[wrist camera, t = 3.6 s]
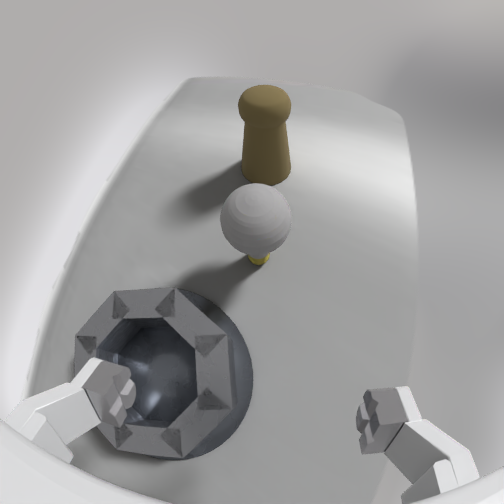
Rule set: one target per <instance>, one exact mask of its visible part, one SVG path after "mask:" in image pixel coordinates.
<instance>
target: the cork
mask: <svg viewBox="0 0 504 504" xmlns="http://www.w3.org/2000/svg"><path fill="white" fill-rule="evenodd" d="M238 108H239V114H240V116H241V118H242V119H243V120H244V122H245V126H244V139H243V152H242V165H241V168H242V173H243V175H244V176H245V178H246V179H247V180H249V181H250V182H252V183H259V184H265V185H268V186H269V185H275V184H278V183H280V182H282V181H283V180H285V179H286V178H287V177H288V175H289V174H290V170H291V163H290V155H289V146H288V138H287V130H286V122H285V121H286V120H287V119H288V117H289V115H290V111H291V102H290V99H289V96H288V95H287V93H286V92H285V91H284V90H282V89H281V88H278V87H276V86H271V85H258V86H254V87H251V88H249V89H247V90H245V91H244V92H243V93H242V95H241V97H240V99H239V102H238Z"/></svg>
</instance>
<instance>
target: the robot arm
mask: <svg viewBox="0 0 504 504" xmlns="http://www.w3.org/2000/svg"><path fill="white" fill-rule="evenodd" d="M131 375H132V374H131V372H130V369H129V368H128V367H125V366H121V365H118V364H115V363H111V362H108V361H105V360H101V359H98V358H95V357H93V358H91V359H90V360H89V361H88V362H87V363H86V364H85V366H84V367H83V368H82V369H81V371H80V372H79V373H78V374H77V375H76V377H75V378H74V379H73V380H72V382H71V383H64V384H62V385H60V386H57V387H55V388H52V389H50V390H47V391H45V392H42V393H40V394H37V395H35V396H32V397H30V398H27V399H24V400H22V401H20V402H19V404H18V405H17V406H16V407H15V408H14V410H13V411H12V412H11V413H10V415H9V416H8V417H7V418H6V420H5V421H2V420H1V419H0V504H174V503H170V502H166V501H162V500H159V499H155V498H152V497H149V496H146V495H143V494H140V493H137V492H134V491H131V490H128V489H125V488H123V487H120V486H117V485H115V484H112V483H110V482H107V481H105V480H103V479H100V478H98V477H96V476H94V475H91V474H89V473H87V472H85V471H83V470H81V469H79V468H77V467H75V466H73V465H71V464H70V462H71V460H72V458H73V453H72V452H71V450H70V449H69V448H68V447H67V445H66V444H68V443H69V442H71V441H73V440H74V439H76V438H77V437H79V436H81V435H82V434H84V433H85V432H87V431H89V430H90V429H92V428H93V427H95V426H96V425H98V424H99V423H101V421H102V422H104V423H107V424H111V425H114V426H117V427H121V425H122V424H123V422H124V420H125V418H126V416H127V412H126V409H128V408H130V407H132V405H133V403H134V401H135V397H136V387H135V384H134V382H133V381H132V380H131V379H130V377H131ZM363 399H364V402H363V403H362V404H361V405H360V406H359V408H358V411H357V416H356V425H357V430H358V431H359V432H360V433H361V434H362V435H361V437H360V439H359V442H360V448H361V453H362V454H373V453H382V452H385V453H384V454H385V455H386V456H387V457H388V458H389V459H390V460H391V462H392V463H393V464H394V465H395V466H396V467H397V468H398V469H399V470H400V471H401V472H402V473H403V475H404V476H405V477H406V478H407V479H408V480H409V481H410V482H411V483H412V484H413V485H412V486H411V487H409V488H408V489H407V490H406V491H405V492H404V493H403V494H402V495H401V499H402V504H504V466H503V467H501V468H499V469H497V470H495V471H493V472H491V473H489V474H487V475H485V476H483V477H481V478H480V477H479V474H478V471H477V468H476V466H475V463H474V461H473V458H472V456H471V453H470V451H469V450H468V449H467V448H465V447H464V446H462V445H461V444H460V443H458V442H457V441H455V440H454V439H453V438H451V437H450V436H448V435H447V434H445V433H444V432H443V431H442V430H440V429H439V428H437V427H436V426H435V425H433V424H432V423H431V422H429V421H428V420H426V419H424V420H422V418H421V415H420V413H419V410H418V408H417V405H416V403H415V400H414V398H413V396H412V393H411V391H410V389H409V387H407V386H404V387H395V388H383V389H370V390H367V391H366V392H365V394H364V396H363Z"/></svg>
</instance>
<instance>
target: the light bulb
mask: <svg viewBox="0 0 504 504" xmlns="http://www.w3.org/2000/svg"><path fill="white" fill-rule="evenodd" d="M291 220H292V214H291V209H290V207H289V205H288V203H287V201H286V199H285V198H284V196H283V195H282V194H281V193H280V192H279V191H278V190H276V189H275V188H273V187H271V186H268V185H265V184H259V183H253V184H247V185H244V186H241V187H239V188H237V189H236V190H234V191H233V192H232V193H231V194H230V195H229V196H228V198H227V199H226V201H225V202H224V205H223V207H222V211H221V215H220V221H221V227H222V231H223V234H224V236H225V237H226V239H227V240H228V241H229V243H230V244H231V245H232V246H233V247H234V248H235V249H237V250H239V251H240V252H243V253H246V254H248V257H249V260H250V261H251V262H252V263H253V264H256V265H261V264H264V263H265V262H266V261H267V260H268V259H269V255H270V253H269V252H272V251H274V250H275V249H277V248H278V247H279V246H281V244H282V243H283V242H284V241H285V239H286V238H287V236H288V234H289V232H290V229H291Z"/></svg>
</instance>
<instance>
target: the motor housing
mask: <svg viewBox="0 0 504 504" xmlns="http://www.w3.org/2000/svg"><path fill="white" fill-rule="evenodd" d="M93 357H95V358H98V359H101V360H105V361H108V362H111V363H115V364H118V365H121V366H125V367H128V368H129V369H130V372H131V374H132V375H131V377H130V379H131V380H132V381H133V382H134V384H135V387H136V397H135V401H134V403H133V405H132V407H130V408H128V409H126V412H127V416H126V418H125V420H124V422H123V424H122V425H121V427H117V426H114V425H111V424H107V423H104V422H102V421H101V423H99V424H98V425H96V426H97V428H98V429H99V430H100V431H101V432H102V434H103V435H104V436H105V437H106V438H107V439H108V441H109V442H110V443H111V444H112V445H113V446H114V447H115V448H116V449H117V450H121V451H127V452H133V453H140V454H145V455H148V456H151V457H154V458H159V459H165V460H183V459H190V458H194V457H198V456H201V455H203V454H206V453H208V452H210V451H212V450H214V449H215V448H217V447H219V446H220V445H221V444H223V443H224V442H225V441H226V440H227V439H228V438H230V436H231V435H232V434H233V433H234V432H235V431H236V429H237V428H238V427H239V425H240V423H241V422H242V420H243V419H244V417H245V414H246V412H247V410H248V407H249V404H250V400H251V396H252V389H253V369H252V362H251V358H250V354H249V351H248V348H247V346H246V343H245V341H244V339H243V337H242V335H241V333H240V332H239V330H238V329H237V327H236V325H235V324H234V323H233V322H232V320H231V319H230V318H229V317H228V316H227V315H226V314H225V313H224V312H223V311H222V310H221V309H220V308H219V307H217V306H216V305H215V304H213V303H212V302H211V301H209V300H207V299H205V298H204V297H202V296H200V295H197V294H195V293H192V292H189V291H185V290H182V289H176V288H175V287H170V288H155V289H140V290H124V291H114V292H113V293H112V294H111V295H110V296H109V297H108V298H107V300H106V301H105V302H104V303H103V304H102V305H101V306H100V307H99V309H98V310H97V311H96V312H95V313H94V314H93V315H92V317H91V318H90V319H89V320H88V321H87V322H86V324H85V325H84V326H83V327H82V328H81V329H80V331H79V332H78V333H77V334H76V335H75V359H74V378H75V377H76V375H77V374H78V373H79V372H80V371H81V369H82V368H83V367H84V366H85V364H86V363H87V362H88V361H89V360H90V359H91V358H93Z"/></svg>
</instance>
